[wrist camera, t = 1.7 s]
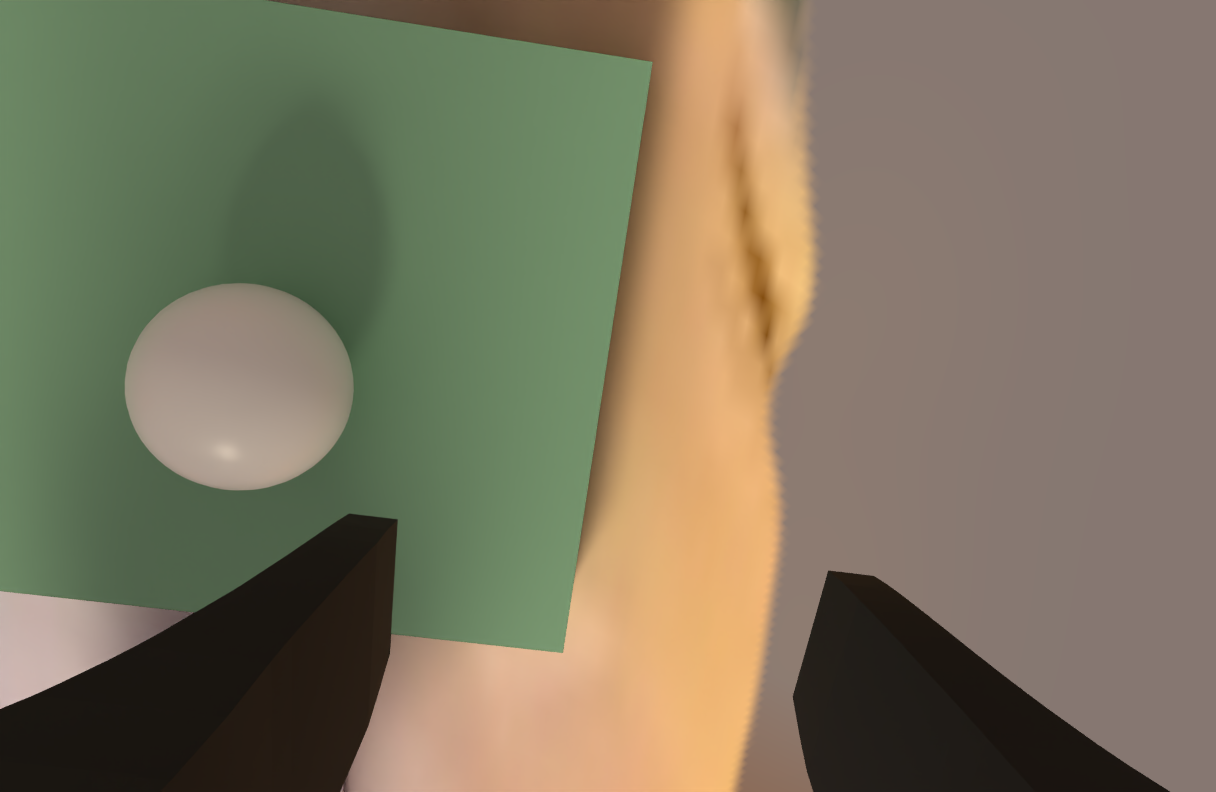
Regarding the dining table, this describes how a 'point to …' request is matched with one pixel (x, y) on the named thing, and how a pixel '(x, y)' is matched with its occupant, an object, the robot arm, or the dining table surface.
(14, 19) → the green mini golf board
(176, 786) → the robot arm
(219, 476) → the ball
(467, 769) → the dining table surface
